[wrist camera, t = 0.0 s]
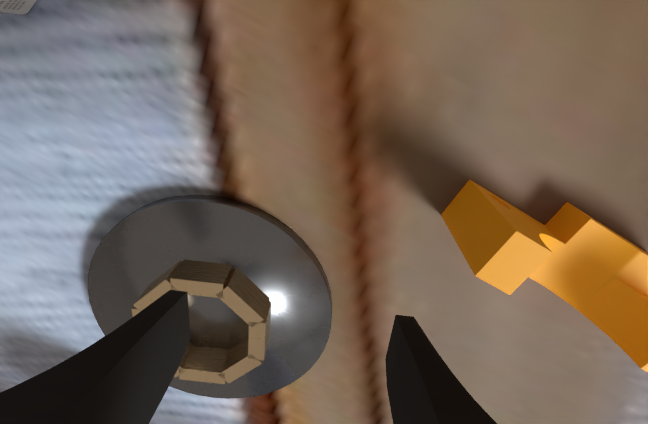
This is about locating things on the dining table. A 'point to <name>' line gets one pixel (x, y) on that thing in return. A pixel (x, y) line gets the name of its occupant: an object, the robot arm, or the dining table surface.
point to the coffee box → (16, 6)
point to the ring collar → (219, 291)
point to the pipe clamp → (557, 261)
